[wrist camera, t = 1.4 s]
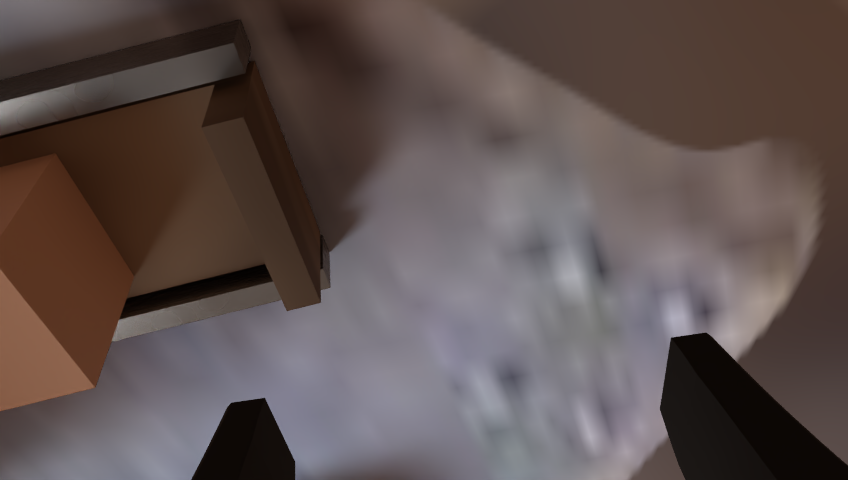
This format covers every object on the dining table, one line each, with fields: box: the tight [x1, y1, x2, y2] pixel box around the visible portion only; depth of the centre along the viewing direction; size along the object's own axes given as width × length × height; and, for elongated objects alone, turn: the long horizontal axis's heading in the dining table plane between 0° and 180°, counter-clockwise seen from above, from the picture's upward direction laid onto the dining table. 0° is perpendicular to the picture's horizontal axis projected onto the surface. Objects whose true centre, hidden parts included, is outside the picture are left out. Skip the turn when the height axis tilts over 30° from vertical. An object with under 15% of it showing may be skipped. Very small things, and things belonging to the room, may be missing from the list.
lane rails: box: [0, 20, 330, 342], centre depth 19 cm, size 14×8×2 cm, turn 102°
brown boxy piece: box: [0, 61, 321, 311], centre depth 18 cm, size 16×6×4 cm, turn 102°
